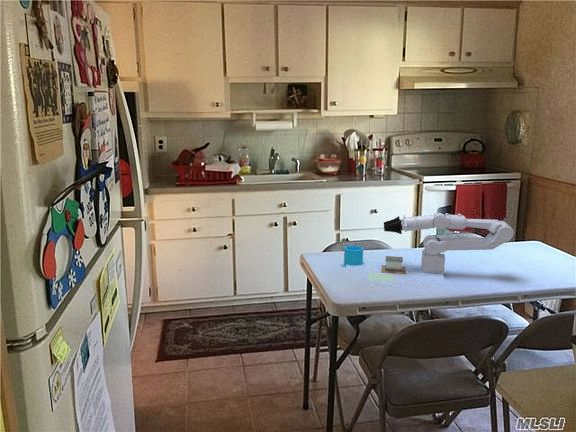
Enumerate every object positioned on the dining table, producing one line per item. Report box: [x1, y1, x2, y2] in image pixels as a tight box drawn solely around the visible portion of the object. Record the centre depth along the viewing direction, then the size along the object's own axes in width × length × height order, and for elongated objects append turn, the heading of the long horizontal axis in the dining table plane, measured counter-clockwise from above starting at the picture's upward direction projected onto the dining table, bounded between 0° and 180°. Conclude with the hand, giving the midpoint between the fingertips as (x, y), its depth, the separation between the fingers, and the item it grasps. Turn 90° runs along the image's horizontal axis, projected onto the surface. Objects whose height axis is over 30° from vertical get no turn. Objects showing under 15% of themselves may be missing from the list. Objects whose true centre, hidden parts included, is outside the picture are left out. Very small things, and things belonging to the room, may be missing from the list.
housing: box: [384, 255, 404, 272], centre depth 217 cm, size 7×4×5 cm, turn 79°
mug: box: [343, 245, 364, 268], centre depth 228 cm, size 12×8×8 cm
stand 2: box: [380, 265, 407, 275], centre depth 217 cm, size 10×10×2 cm
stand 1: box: [367, 272, 395, 287], centre depth 208 cm, size 10×10×2 cm
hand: (383, 226), depth 217 cm, fingers open, 7 cm apart
